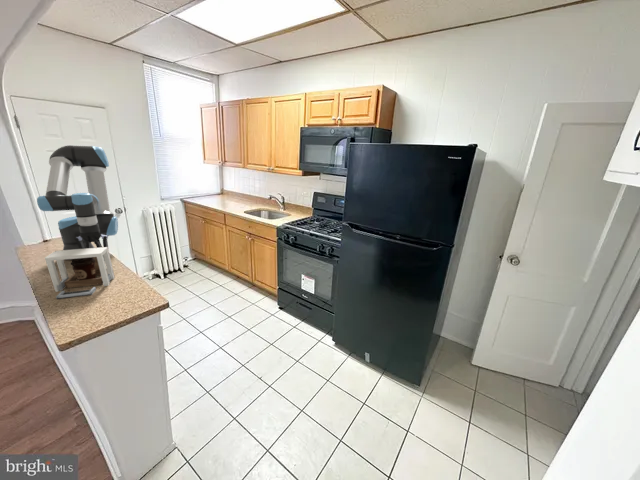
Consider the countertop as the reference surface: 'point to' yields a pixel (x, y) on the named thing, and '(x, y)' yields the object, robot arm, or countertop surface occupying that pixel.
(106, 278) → the tunnel
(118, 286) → the countertop surface
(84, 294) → the grey flat piece
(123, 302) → the countertop surface
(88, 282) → the wooden frame
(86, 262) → the coffee cup
